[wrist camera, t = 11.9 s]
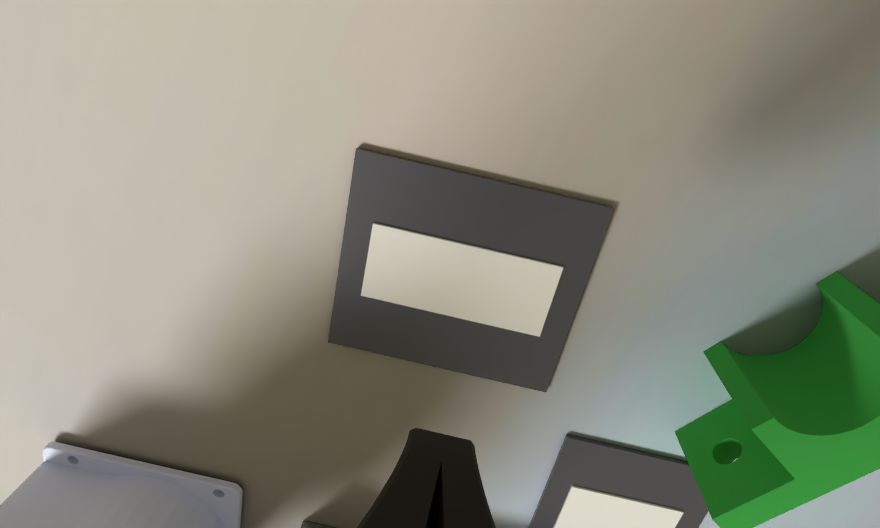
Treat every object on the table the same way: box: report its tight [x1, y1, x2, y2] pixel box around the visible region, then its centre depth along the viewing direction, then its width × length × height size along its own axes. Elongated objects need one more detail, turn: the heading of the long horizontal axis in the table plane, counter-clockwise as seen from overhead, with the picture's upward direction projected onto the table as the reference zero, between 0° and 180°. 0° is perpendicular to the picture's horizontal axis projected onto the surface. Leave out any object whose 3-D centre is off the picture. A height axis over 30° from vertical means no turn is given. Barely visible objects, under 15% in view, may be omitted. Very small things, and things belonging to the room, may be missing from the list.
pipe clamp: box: [675, 271, 880, 528], centre depth 18 cm, size 11×4×5 cm, turn 133°
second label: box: [328, 148, 614, 392], centre depth 20 cm, size 9×8×1 cm
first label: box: [529, 434, 708, 528], centre depth 25 cm, size 7×8×1 cm
